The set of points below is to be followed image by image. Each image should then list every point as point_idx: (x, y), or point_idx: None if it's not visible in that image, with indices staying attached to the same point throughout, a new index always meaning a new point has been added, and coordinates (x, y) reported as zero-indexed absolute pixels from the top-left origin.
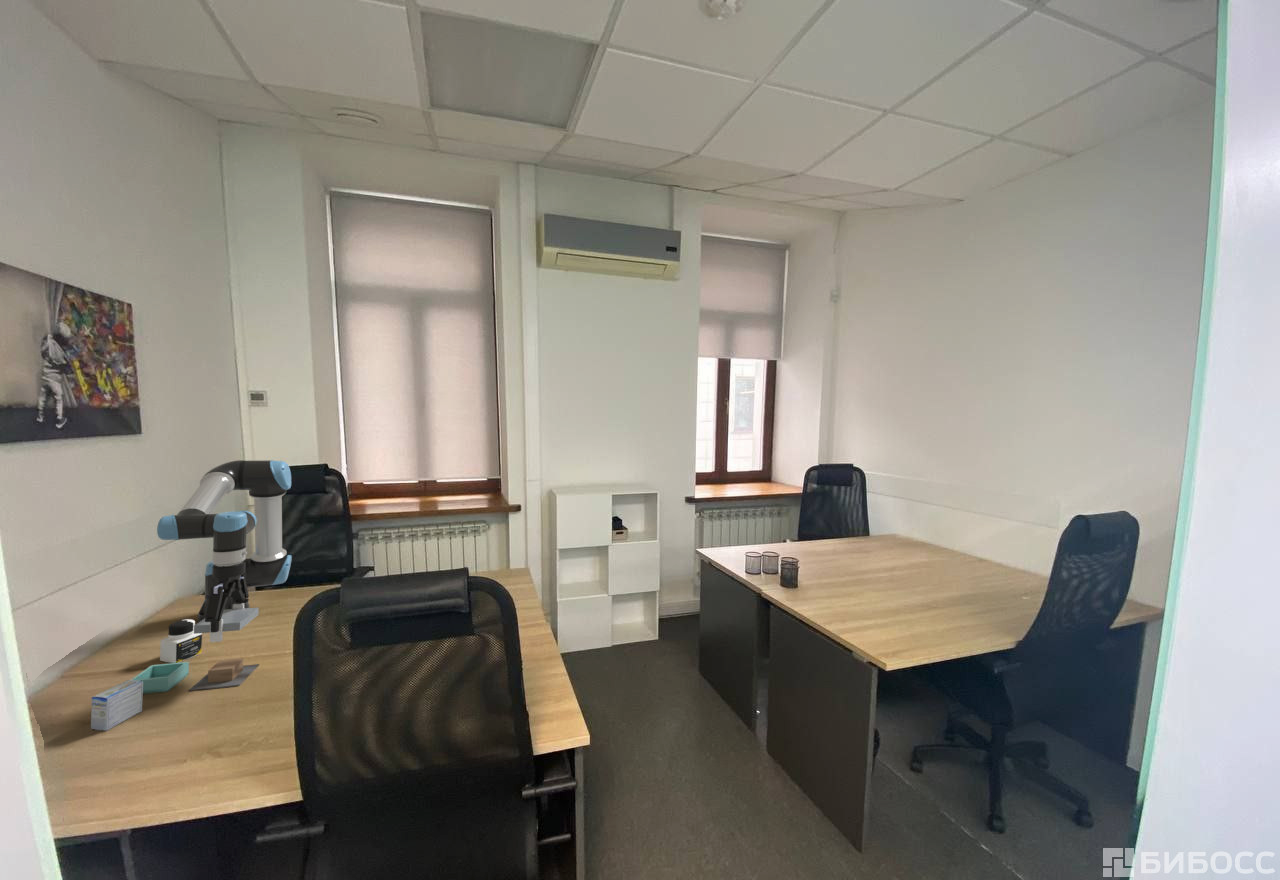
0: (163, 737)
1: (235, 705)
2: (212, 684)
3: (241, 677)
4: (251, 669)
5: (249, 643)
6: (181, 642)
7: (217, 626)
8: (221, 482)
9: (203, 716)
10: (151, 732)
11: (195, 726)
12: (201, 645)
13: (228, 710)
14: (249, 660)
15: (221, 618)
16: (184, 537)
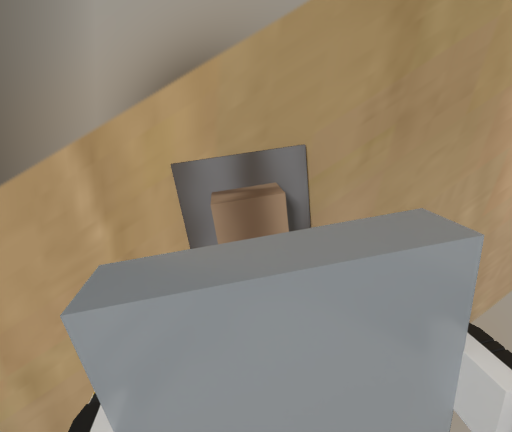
0: (505, 171)
1: (415, 82)
2: (291, 222)
3: (260, 166)
4: (208, 167)
5: (14, 295)
6: None
7: (496, 353)
8: None
9: (445, 138)
10: (474, 211)
11: (486, 127)
12: (94, 394)
13: (436, 86)
14: (137, 217)
15: (348, 427)
16: None
